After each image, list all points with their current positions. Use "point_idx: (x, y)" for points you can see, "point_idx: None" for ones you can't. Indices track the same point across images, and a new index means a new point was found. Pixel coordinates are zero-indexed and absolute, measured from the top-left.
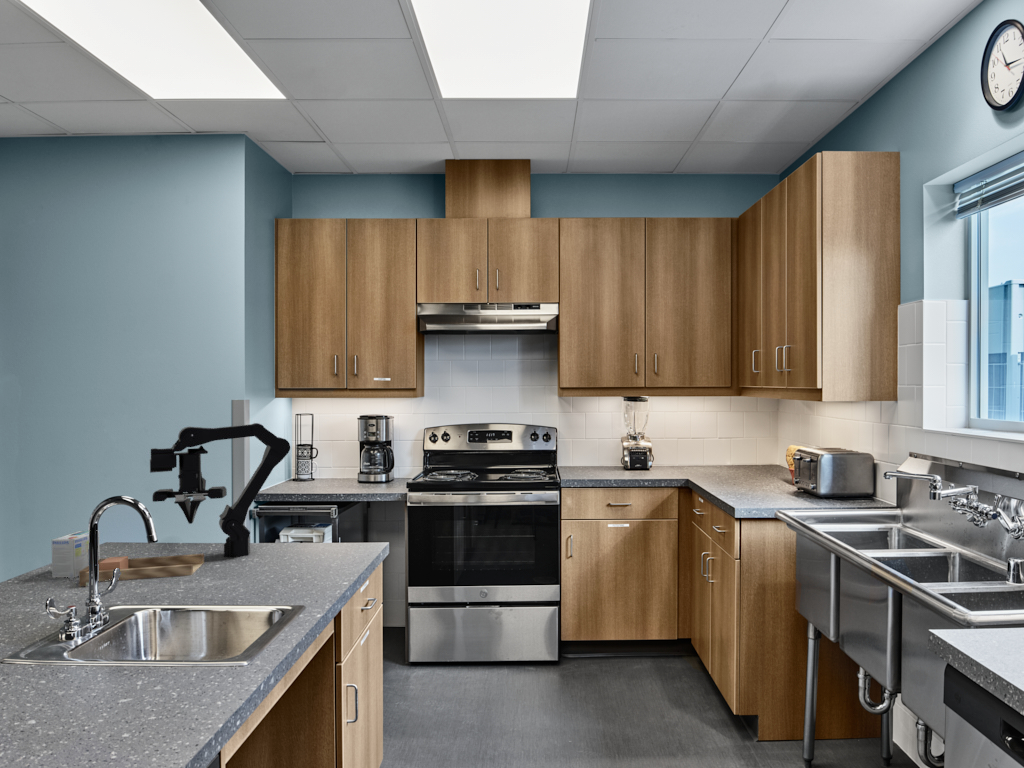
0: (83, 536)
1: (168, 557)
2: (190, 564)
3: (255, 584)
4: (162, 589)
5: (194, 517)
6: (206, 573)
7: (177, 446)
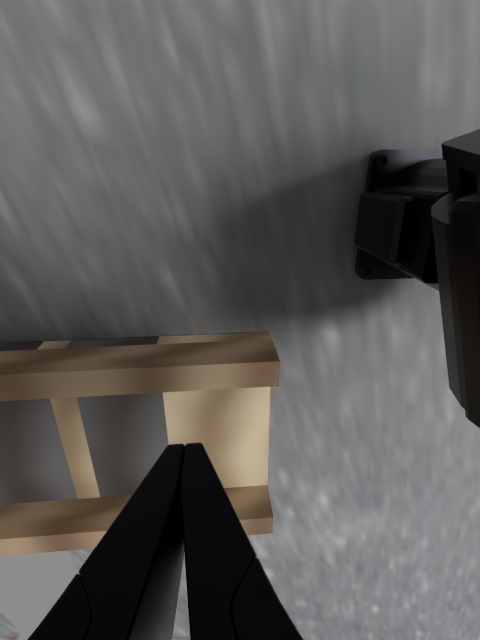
0: None
1: (103, 394)
2: (265, 520)
3: (460, 555)
4: None
5: (221, 487)
6: (304, 440)
7: None
